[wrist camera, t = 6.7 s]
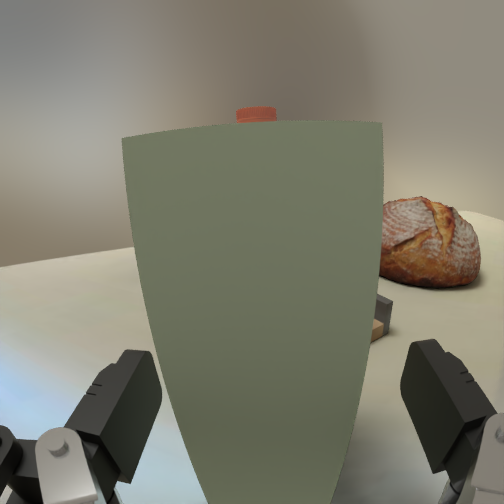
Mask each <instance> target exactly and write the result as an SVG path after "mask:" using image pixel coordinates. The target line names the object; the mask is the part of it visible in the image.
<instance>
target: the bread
mask: <svg viewBox="0 0 504 504" xmlns="http://www.w3.org/2000/svg"><path fill="white" fill-rule="evenodd" d="M480 262H481V256H480V247H479V242H478V237H477V235H476V233H475V232H474V230H473V227H472V225H471V224H470V223H468V222H467V221H466V220H464V219H463V218H462V217H461V216H460V215H459V214H458V212H457V211H456V209H454V208H453V207H449V206H447V205H445V206H444V205H443V204H441V203H437V202H431V201H430V200H428V199H427V198H423V197H422V196H420V197H412V198H409V199H399V200H397V201H396V200H395V201H389V202H387V203H386V204H384V205H383V223H382V242H381V257H380V269H379V275H380V276H384V277H385V278H387V279H390V280H393V281H396V282H400V283H403V284H410V285H417V286H421V287H434V288H445V287H452V286H460V285H466V284H468V283H471V282H472V281H473V280H474V279H475V278H476V276H477V274H478V272H479V270H480Z"/></svg>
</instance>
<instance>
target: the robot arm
mask: <svg viewBox="0 0 504 504" xmlns="http://www.w3.org/2000/svg"><path fill="white" fill-rule="evenodd" d="M400 390H401V395H402V398H403V401H404V403H405V405H406V408H407V410H408V412H409V415H410V417H411V419H412V422H413V424H414V427H415V429H416V432H417V434H418V437H419V439H420V442H421V444H422V447H423V449H424V452H425V454H426V457H427V459H428V462H429V465H430V467H431V470H432V473H433V474H435V473H438V472H441V471H444V470H446V471H447V473H448V476H449V479H448V480H447V482H446V485H445V487H444V490H443V492H442V495H441V497H440V500H439V502H438V504H504V413H499V414H498V413H497V412H496V410H495V409H494V407H493V406H492V404H491V403H490V401H489V400H488V398H487V397H486V395H485V394H484V392H483V391H482V389H481V388H480V387H479V385H478V384H477V382H475V381H474V378H473V376H472V375H471V374H470V373H468V369H467V368H466V367H465V365H464V364H463V363H462V361H461V360H460V359H458V358H457V357H455V356H454V355H453V354H451V353H450V352H446V353H445V351H444V350H443V349H442V347H441V346H440V344H439V343H438V342H437V341H436V340H435V339H429V340H423V341H416V342H412V343H411V345H410V347H409V351H408V355H407V359H406V363H405V366H404V370H403V374H402V377H401V383H400ZM161 402H162V388H161V385H160V381H159V378H158V374H157V371H156V368H155V364H154V360H153V357H152V354H151V353H150V352H149V351H141V350H128V349H127V350H125V351H124V352H123V354H122V355H121V357H120V358H119V360H118V361H117V363H116V364H113V363H111V364H110V365H109V366H107V367H106V368H105V369H103V370H102V371H101V372H99V374H98V375H97V377H96V378H95V380H94V381H93V383H92V386H90V387H89V389H88V390H87V392H86V395H84V396H83V398H82V399H81V401H80V402H79V404H78V405H77V407H76V409H75V410H74V412H73V413H72V415H71V416H70V418H69V419H68V421H67V423H66V424H65V426H64V427H59V428H54V429H51V430H48V431H47V432H45V433H44V434H43V435H41V436H40V438H39V439H38V440H24V439H16V438H15V436H14V435H13V434H12V432H11V431H10V430H9V429H8V428H7V427H5V426H2V425H0V497H1V495H2V493H3V491H4V489H5V487H6V485H8V486H9V487H10V488H11V489H12V490H13V491H12V493H11V495H10V497H9V499H8V501H7V503H6V504H123V502H122V500H121V498H120V495H119V493H118V491H117V489H116V488H115V485H116V483H117V481H120V482H124V483H129V484H131V482H132V479H133V476H134V473H135V471H136V468H137V465H138V463H139V460H140V458H141V455H142V452H143V450H144V447H145V444H146V442H147V439H148V437H149V434H150V431H151V429H152V426H153V424H154V421H155V419H156V416H157V413H158V411H159V408H160V406H161Z"/></svg>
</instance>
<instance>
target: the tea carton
mask: <svg viewBox="0 0 504 504" xmlns="http://www.w3.org/2000/svg"><path fill="white" fill-rule="evenodd" d="M382 132H383V131H382V123H378V122H360V121H324V120H321V121H319V120H318V121H316V120H312V121H308V120H306V121H268V122H249V123H236V124H222V125H212V126H202V127H193V128H185V129H177V130H170V131H163V132H156V133H149V134H144V135H138V136H132V137H126V138H122V149H123V160H124V161H123V162H124V171H125V181H126V191H127V199H128V208H129V215H130V222H131V229H132V236H133V242H134V248H135V254H136V260H137V266H138V271H139V276H140V282H141V287H142V292H143V297H144V301H145V306H146V311H147V315H148V319H149V324H150V328H151V332H152V336H153V340H154V344H155V348H156V352H157V356H158V360H159V364H160V367H161V371H162V374H163V378H164V381H165V385H166V388H167V392H168V395H169V398H170V402H171V405H172V408H173V411H174V414H175V417H176V420H177V423H178V426H179V429H180V432H181V435H182V438H183V441H184V444H185V446H186V449H187V452H188V455H189V457H190V460H191V463H192V465H193V468H194V470H195V473H196V475H197V478H198V480H199V483H200V485H201V488H202V490H203V493H204V495H205V497H206V500H207V502H208V504H330V503H331V500H332V497H333V494H334V491H335V488H336V485H337V482H338V479H339V476H340V473H341V469H342V466H343V463H344V459H345V456H346V452H347V449H348V445H349V441H350V438H351V434H352V430H353V426H354V422H355V418H356V414H357V409H358V405H359V400H360V396H361V391H362V386H363V381H364V376H365V371H366V366H367V360H368V354H369V348H370V342H371V336H372V329H373V322H374V315H375V307H376V298H377V289H378V280H379V269H380V257H381V242H382V223H383V186H384V185H383V184H384V181H383V180H384V176H383V175H384V173H383V172H384V169H383V168H384V167H383V133H382Z"/></svg>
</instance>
